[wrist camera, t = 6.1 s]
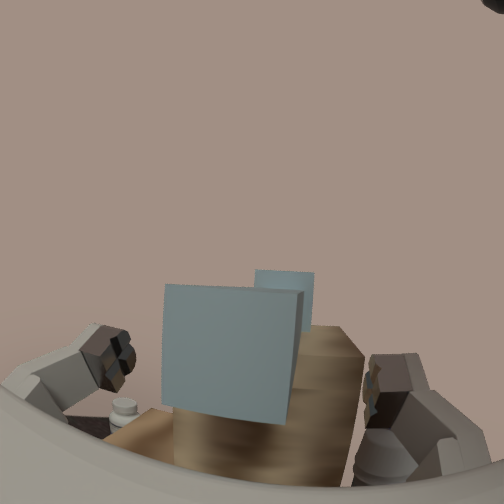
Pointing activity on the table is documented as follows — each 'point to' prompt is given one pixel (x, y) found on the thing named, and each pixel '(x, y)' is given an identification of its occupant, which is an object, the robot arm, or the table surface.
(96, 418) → the table surface
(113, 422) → the pill bottle
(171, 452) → the bench
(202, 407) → the rail
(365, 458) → the bottle
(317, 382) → the tall stand
